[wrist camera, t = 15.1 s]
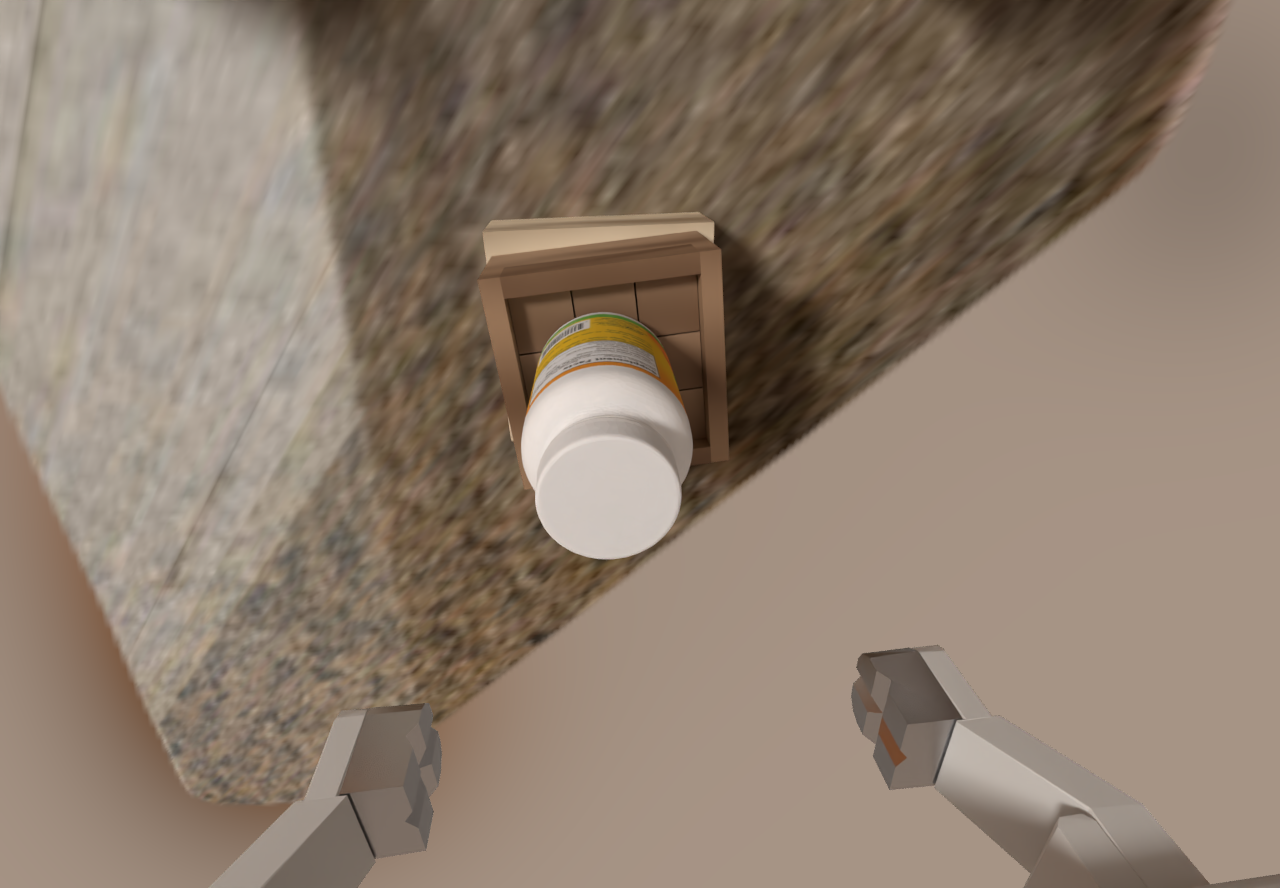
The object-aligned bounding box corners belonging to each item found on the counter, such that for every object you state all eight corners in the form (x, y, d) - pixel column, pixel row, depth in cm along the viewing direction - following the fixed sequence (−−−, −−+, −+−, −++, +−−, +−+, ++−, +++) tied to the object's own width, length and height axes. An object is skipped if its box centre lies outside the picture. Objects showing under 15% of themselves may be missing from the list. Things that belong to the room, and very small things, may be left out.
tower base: (492, 219, 29) (482, 231, 26) (696, 210, 30) (714, 222, 27) (517, 408, 34) (511, 441, 31) (693, 396, 35) (708, 427, 31)
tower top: (491, 256, 26) (477, 280, 22) (696, 230, 27) (721, 249, 23) (530, 439, 31) (524, 489, 26) (706, 415, 31) (729, 460, 27)
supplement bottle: (653, 441, 27) (681, 591, 18) (529, 421, 26) (497, 568, 17) (683, 323, 24) (732, 430, 16) (548, 296, 23) (521, 393, 15)
